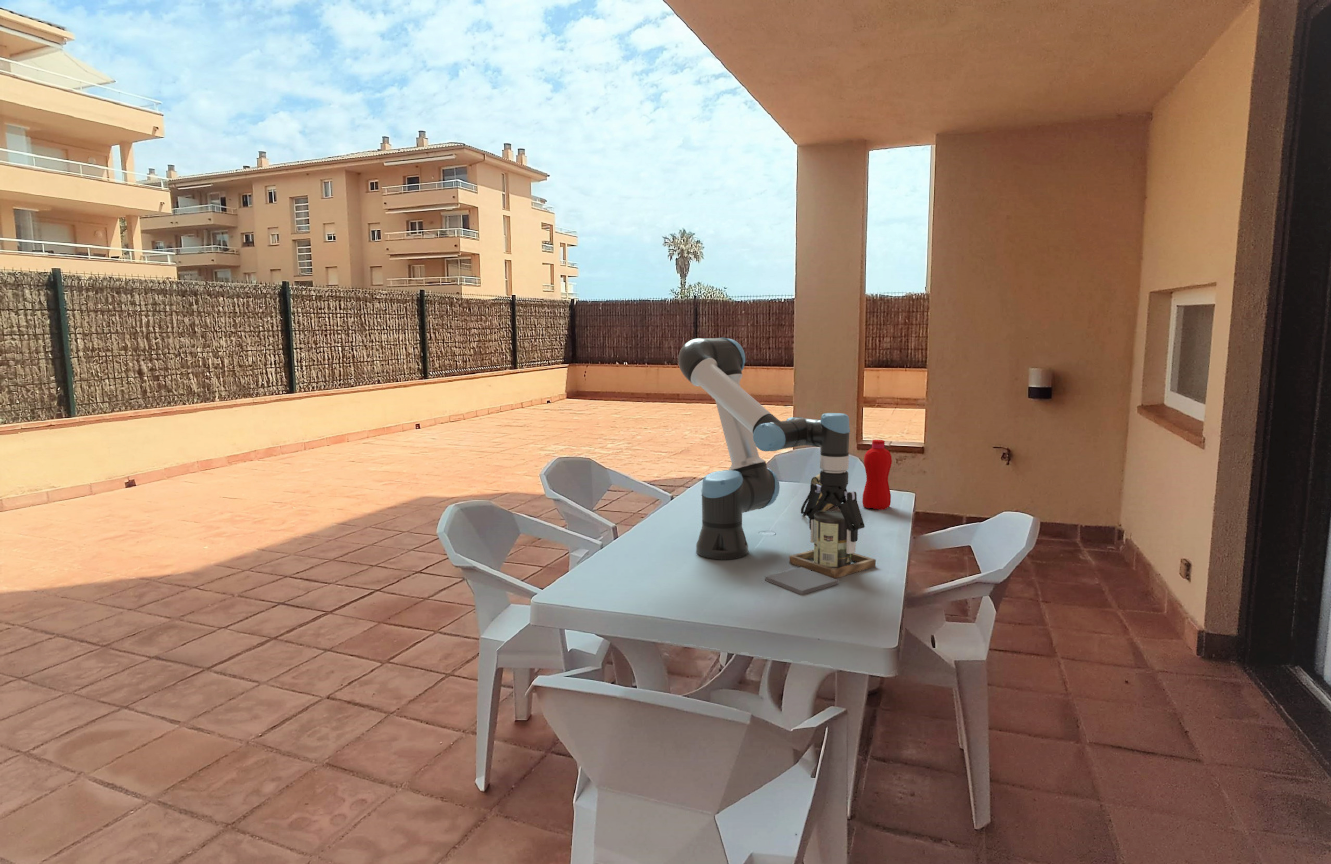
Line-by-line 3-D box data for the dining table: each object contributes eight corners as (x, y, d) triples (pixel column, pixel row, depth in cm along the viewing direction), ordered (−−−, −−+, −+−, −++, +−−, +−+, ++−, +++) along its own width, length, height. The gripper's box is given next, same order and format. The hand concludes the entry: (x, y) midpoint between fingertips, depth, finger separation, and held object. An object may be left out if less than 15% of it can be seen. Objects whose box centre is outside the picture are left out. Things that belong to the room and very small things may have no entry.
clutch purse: (823, 501, 274) (824, 462, 272) (841, 503, 271) (842, 464, 269) (796, 518, 249) (797, 476, 247) (815, 521, 245) (816, 478, 243)
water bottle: (893, 505, 267) (896, 438, 263) (885, 511, 257) (887, 442, 254) (868, 502, 271) (870, 436, 268) (860, 508, 262) (861, 440, 259)
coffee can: (846, 559, 204) (847, 510, 202) (855, 570, 194) (856, 519, 192) (809, 559, 204) (810, 510, 202) (816, 570, 194) (817, 519, 192)
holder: (834, 578, 187) (834, 571, 187) (789, 562, 201) (789, 555, 201) (875, 566, 197) (875, 559, 197) (829, 552, 210) (830, 545, 210)
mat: (801, 594, 176) (801, 590, 176) (765, 580, 187) (765, 576, 187) (838, 583, 183) (838, 580, 183) (801, 570, 194) (801, 567, 194)
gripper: (879, 475, 187) (877, 555, 190) (810, 462, 207) (809, 535, 210) (860, 479, 183) (858, 560, 186) (791, 465, 203) (790, 539, 206)
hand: (832, 547), depth 198 cm, fingers open, 12 cm apart
